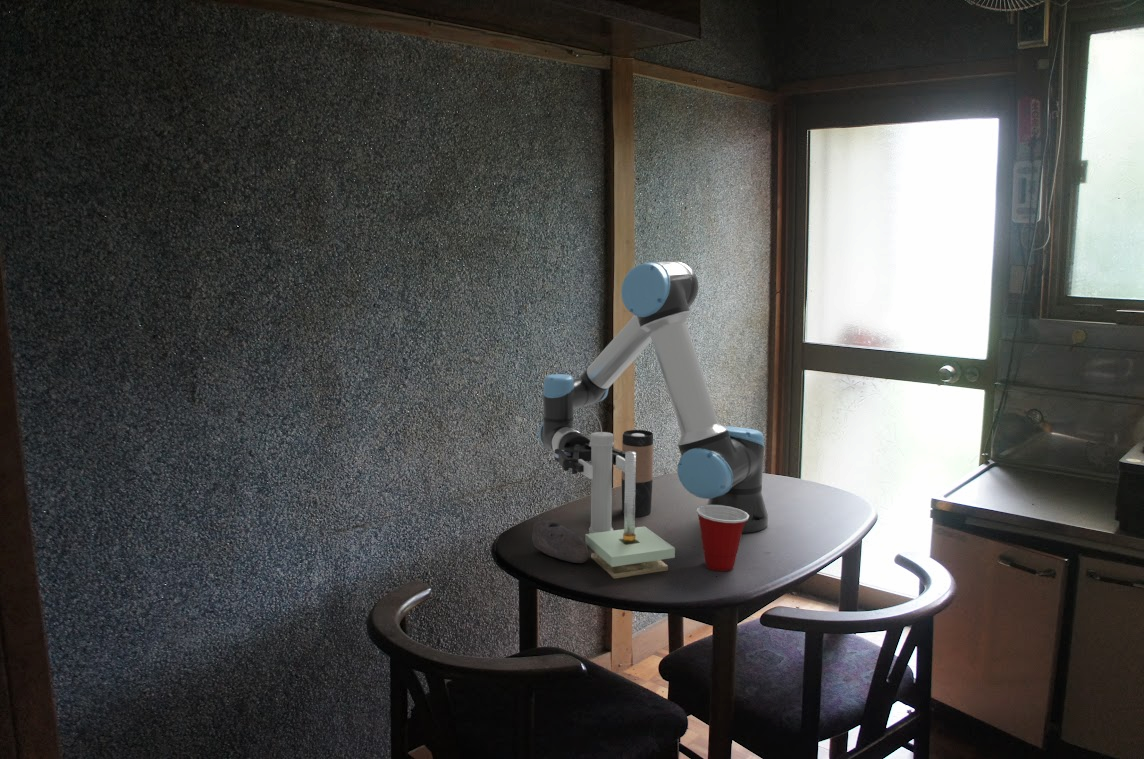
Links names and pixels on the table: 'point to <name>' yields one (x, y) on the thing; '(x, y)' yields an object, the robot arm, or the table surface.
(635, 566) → the post stand
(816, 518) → the table surface
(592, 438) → the pipe
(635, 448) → the travel mug
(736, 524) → the plastic cup
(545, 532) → the perforated stone tool
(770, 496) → the table surface
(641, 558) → the pale mint square tile
